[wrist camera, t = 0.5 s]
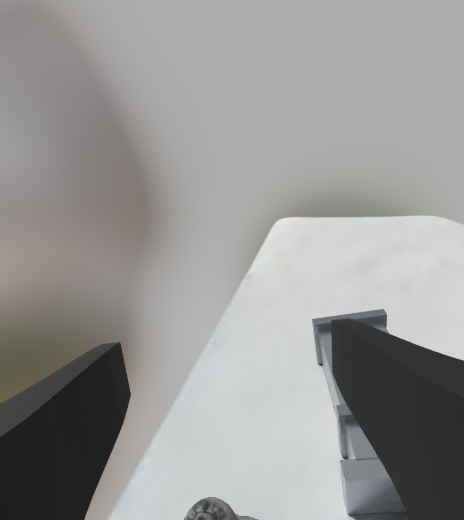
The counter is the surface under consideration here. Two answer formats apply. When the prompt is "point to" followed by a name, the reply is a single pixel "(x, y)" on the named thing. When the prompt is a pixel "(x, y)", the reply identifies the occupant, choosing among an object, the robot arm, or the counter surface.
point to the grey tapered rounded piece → (213, 511)
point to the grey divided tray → (356, 432)
